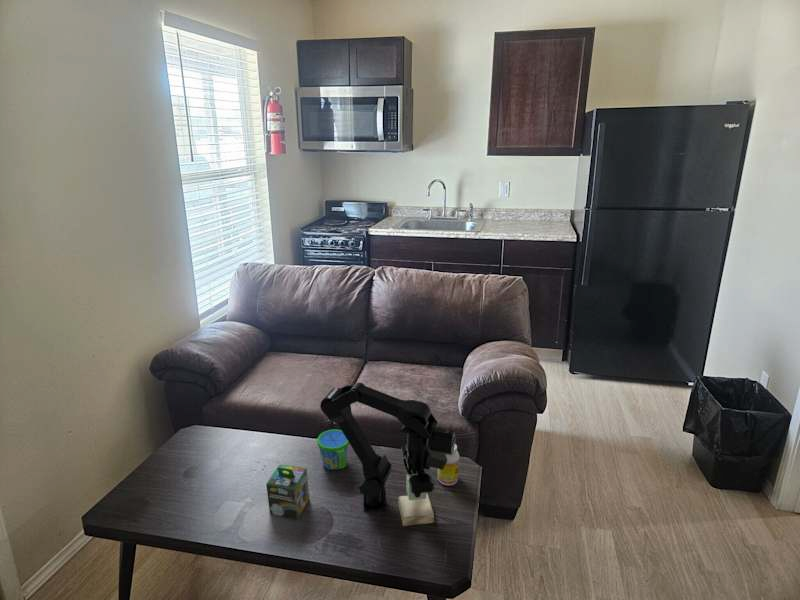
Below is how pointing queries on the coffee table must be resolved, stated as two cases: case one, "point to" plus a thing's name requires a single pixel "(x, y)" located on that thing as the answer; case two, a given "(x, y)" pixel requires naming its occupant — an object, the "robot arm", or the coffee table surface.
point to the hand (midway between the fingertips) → (415, 490)
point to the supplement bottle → (450, 469)
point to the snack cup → (333, 449)
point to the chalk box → (288, 491)
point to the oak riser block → (415, 511)
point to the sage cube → (410, 494)
